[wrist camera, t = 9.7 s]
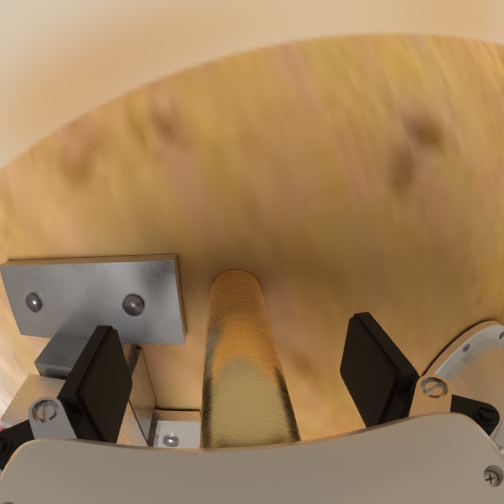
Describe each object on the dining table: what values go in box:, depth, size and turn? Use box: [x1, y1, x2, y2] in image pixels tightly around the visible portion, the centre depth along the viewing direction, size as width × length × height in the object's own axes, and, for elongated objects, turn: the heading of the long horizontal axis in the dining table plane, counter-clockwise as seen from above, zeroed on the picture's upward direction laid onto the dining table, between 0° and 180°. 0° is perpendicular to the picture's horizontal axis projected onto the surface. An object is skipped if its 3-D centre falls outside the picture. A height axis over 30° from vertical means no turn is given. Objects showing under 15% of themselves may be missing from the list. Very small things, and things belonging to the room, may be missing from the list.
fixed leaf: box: [0, 254, 186, 442], centre depth 15 cm, size 12×11×4 cm
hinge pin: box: [200, 270, 301, 448], centre depth 10 cm, size 4×4×13 cm
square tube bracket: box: [0, 374, 201, 448], centre depth 14 cm, size 12×12×8 cm
